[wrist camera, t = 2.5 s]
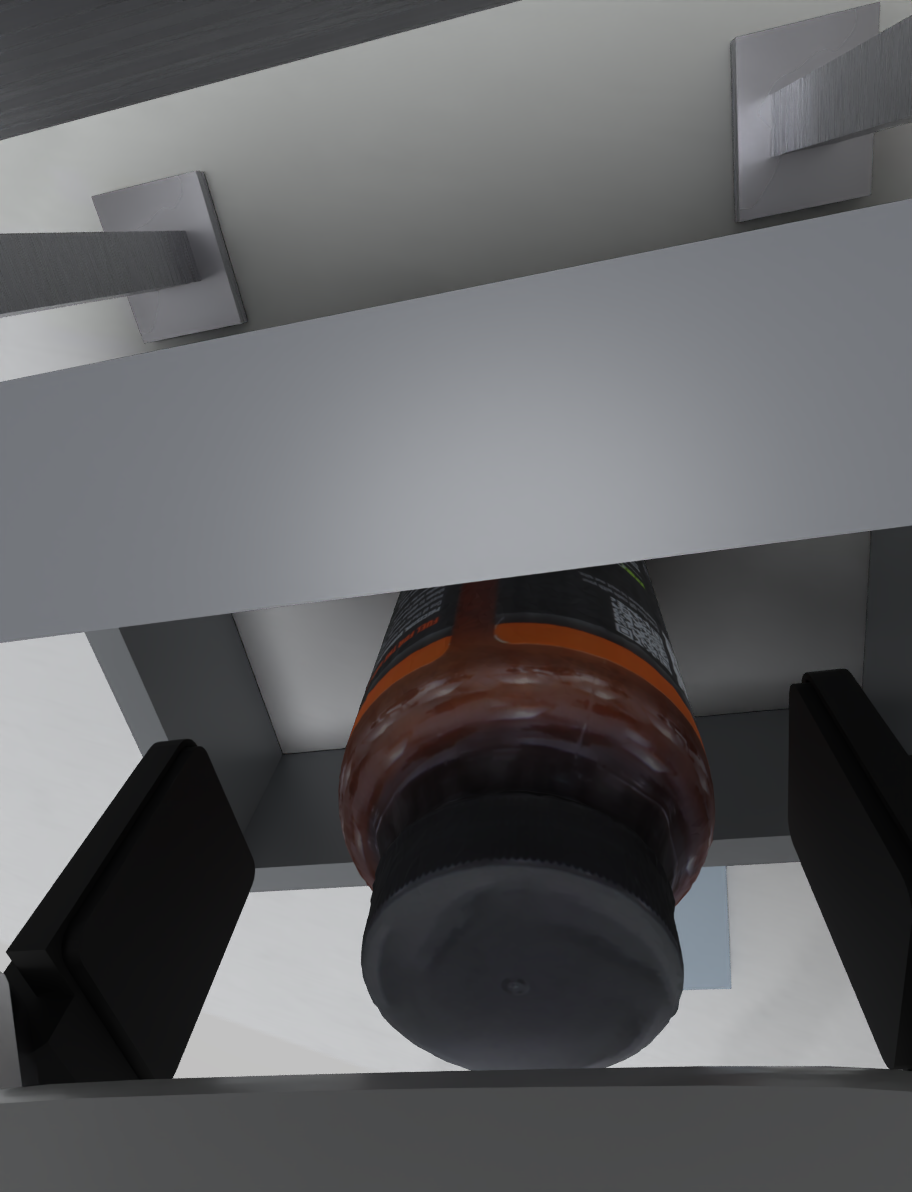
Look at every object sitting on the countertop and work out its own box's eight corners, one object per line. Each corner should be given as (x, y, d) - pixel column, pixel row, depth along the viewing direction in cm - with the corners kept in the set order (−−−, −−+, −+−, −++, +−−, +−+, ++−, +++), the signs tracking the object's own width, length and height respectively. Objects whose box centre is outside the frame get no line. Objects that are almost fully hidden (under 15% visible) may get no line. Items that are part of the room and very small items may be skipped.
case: (892, 724, 20) (982, 851, 16) (254, 778, 23) (192, 895, 19) (927, 285, 15) (1067, 308, 11) (118, 432, 18) (-1, 491, 14)
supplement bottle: (401, 658, 20) (263, 1081, 10) (428, 451, 18) (277, 750, 8) (614, 697, 20) (685, 1164, 10) (675, 493, 17) (854, 858, 7)
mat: (728, 977, 25) (731, 988, 24) (466, 985, 26) (465, 995, 26) (718, 767, 21) (721, 776, 20) (412, 791, 22) (410, 800, 22)
